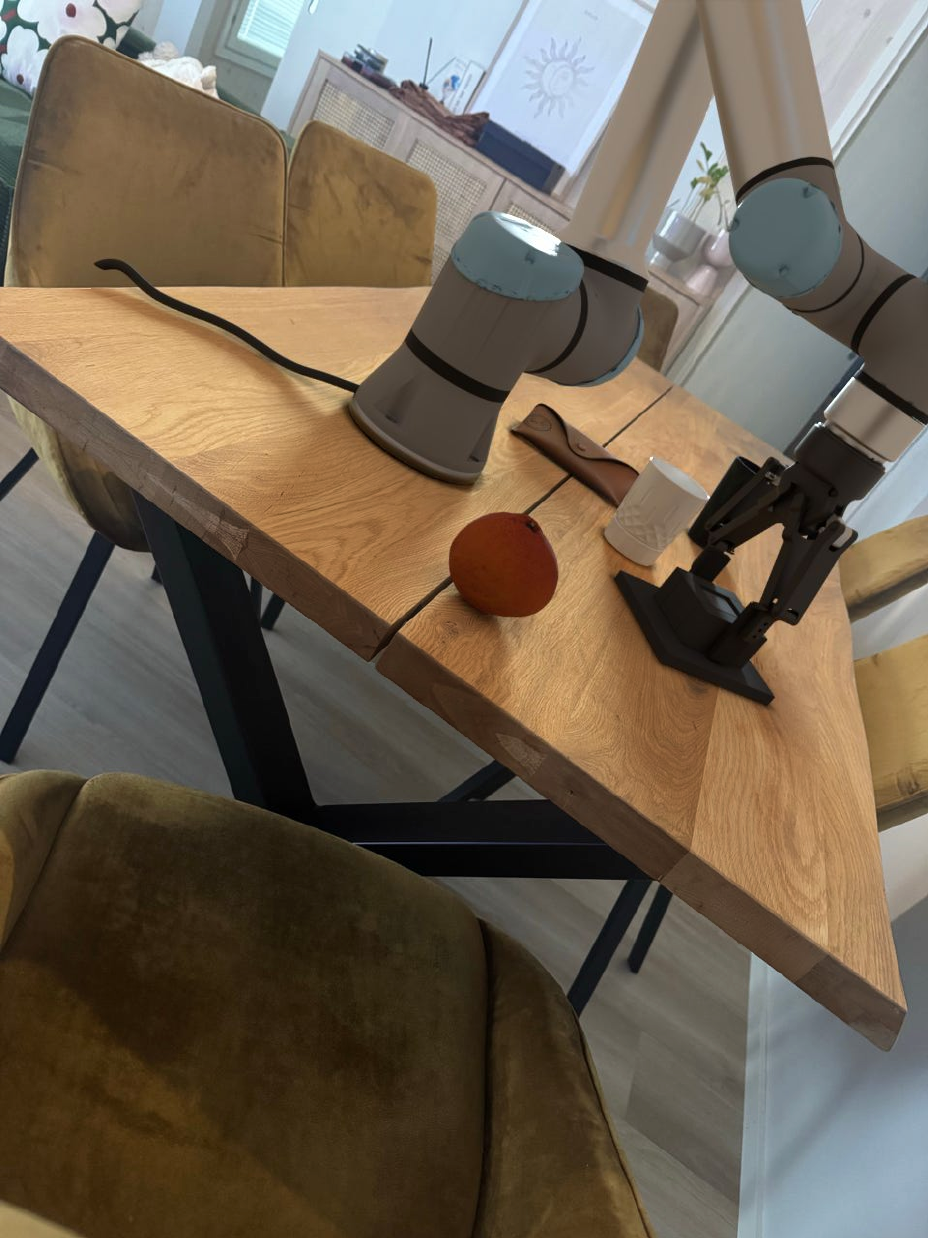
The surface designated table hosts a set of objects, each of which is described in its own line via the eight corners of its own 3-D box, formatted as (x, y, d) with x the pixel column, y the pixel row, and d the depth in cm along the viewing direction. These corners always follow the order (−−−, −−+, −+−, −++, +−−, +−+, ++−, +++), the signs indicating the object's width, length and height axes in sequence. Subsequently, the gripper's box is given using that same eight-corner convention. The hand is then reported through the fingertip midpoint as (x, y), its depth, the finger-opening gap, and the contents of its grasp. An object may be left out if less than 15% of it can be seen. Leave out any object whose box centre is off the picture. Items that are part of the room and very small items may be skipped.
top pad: (681, 643, 86) (707, 612, 85) (652, 596, 93) (676, 565, 91) (741, 669, 90) (768, 639, 88) (710, 621, 96) (734, 593, 94)
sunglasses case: (508, 426, 116) (539, 386, 117) (506, 443, 123) (535, 405, 124) (623, 509, 115) (654, 468, 115) (614, 522, 122) (644, 482, 122)
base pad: (660, 662, 83) (694, 621, 81) (613, 578, 94) (642, 540, 92) (767, 706, 89) (802, 669, 87) (711, 622, 100) (740, 587, 98)
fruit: (499, 650, 68) (558, 567, 65) (414, 575, 70) (466, 491, 67) (544, 626, 76) (599, 551, 72) (466, 559, 78) (516, 483, 75)
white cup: (661, 561, 108) (714, 493, 103) (648, 577, 101) (705, 504, 96) (607, 521, 109) (657, 452, 104) (591, 534, 102) (644, 460, 97)
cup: (729, 568, 122) (788, 496, 117) (682, 537, 121) (739, 463, 116) (724, 548, 129) (780, 480, 124) (680, 519, 128) (734, 449, 123)
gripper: (954, 519, 74) (774, 712, 84) (823, 410, 92) (686, 581, 101) (895, 483, 71) (714, 688, 81) (770, 378, 88) (634, 557, 98)
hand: (698, 629), depth 91 cm, fingers open, 9 cm apart
